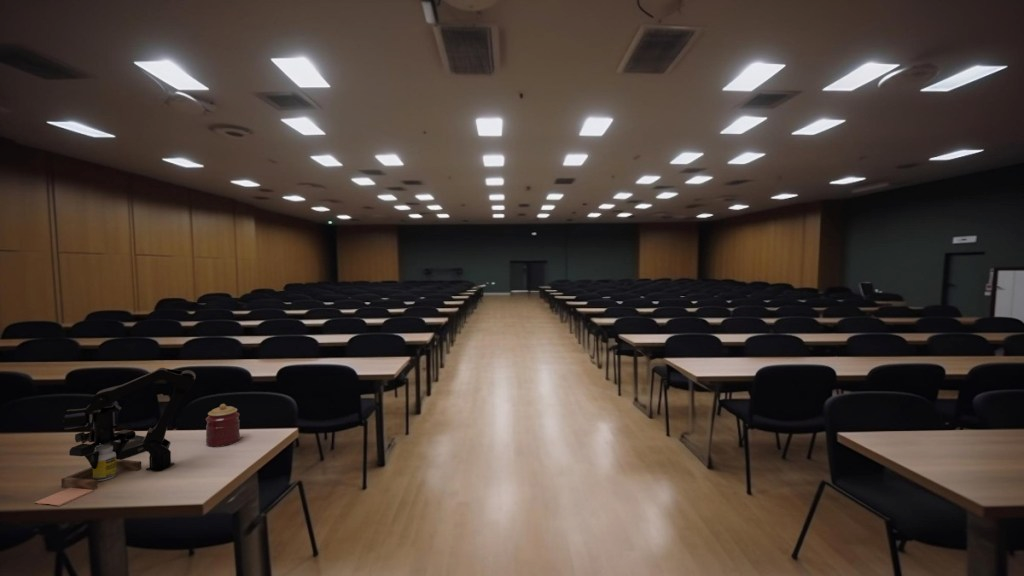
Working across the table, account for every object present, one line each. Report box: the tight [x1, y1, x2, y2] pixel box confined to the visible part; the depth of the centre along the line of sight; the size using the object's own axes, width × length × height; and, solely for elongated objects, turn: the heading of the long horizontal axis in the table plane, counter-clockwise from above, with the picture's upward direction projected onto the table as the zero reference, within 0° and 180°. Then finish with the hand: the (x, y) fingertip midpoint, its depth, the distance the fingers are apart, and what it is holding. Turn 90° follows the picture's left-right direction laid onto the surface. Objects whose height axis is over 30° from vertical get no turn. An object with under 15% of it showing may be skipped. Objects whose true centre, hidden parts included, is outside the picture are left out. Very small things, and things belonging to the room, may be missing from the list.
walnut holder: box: [61, 459, 142, 491], centre depth 160 cm, size 14×17×3 cm
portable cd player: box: [96, 434, 146, 460], centre depth 183 cm, size 16×17×4 cm
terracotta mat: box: [34, 488, 94, 507], centre depth 145 cm, size 10×10×1 cm
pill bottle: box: [92, 445, 117, 482], centre depth 159 cm, size 6×6×12 cm
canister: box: [205, 403, 241, 447], centre depth 195 cm, size 13×13×18 cm
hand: (104, 464), depth 160 cm, fingers closed on pill bottle, 6 cm apart
